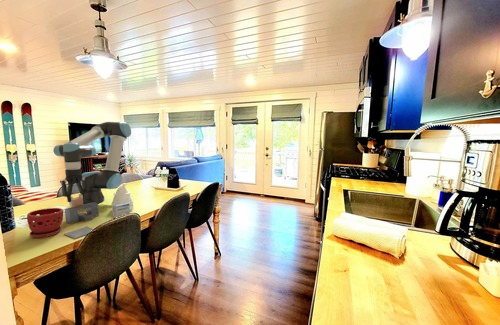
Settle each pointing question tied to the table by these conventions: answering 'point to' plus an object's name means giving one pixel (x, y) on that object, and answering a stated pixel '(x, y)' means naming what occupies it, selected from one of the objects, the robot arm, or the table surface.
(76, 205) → the tan block
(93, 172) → the robot arm
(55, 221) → the plant pot
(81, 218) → the bar
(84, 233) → the slate tile
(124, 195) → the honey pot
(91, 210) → the block
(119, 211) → the medicine box
